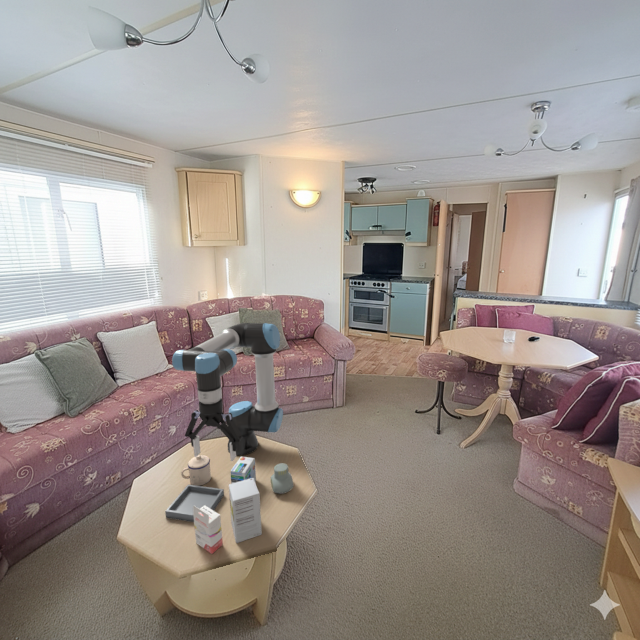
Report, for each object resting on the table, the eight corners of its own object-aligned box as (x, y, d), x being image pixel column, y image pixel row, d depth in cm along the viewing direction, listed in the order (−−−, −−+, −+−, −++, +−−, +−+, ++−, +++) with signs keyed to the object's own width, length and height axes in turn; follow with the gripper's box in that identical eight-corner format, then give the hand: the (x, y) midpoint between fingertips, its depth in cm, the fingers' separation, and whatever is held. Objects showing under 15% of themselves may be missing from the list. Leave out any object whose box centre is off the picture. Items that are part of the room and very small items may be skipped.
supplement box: (231, 524, 125) (227, 483, 121) (256, 516, 128) (253, 476, 125) (235, 544, 116) (232, 501, 113) (262, 535, 120) (260, 492, 116)
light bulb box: (246, 496, 139) (245, 473, 136) (231, 494, 140) (229, 471, 138) (256, 479, 149) (255, 457, 147) (242, 477, 150) (240, 455, 148)
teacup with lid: (210, 470, 155) (208, 447, 153) (212, 483, 147) (210, 458, 145) (181, 478, 150) (179, 454, 148) (182, 491, 142) (180, 466, 140)
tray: (188, 490, 142) (188, 484, 142) (224, 495, 139) (223, 489, 139) (166, 517, 128) (165, 511, 127) (204, 524, 125) (204, 517, 124)
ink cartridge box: (223, 544, 116) (220, 506, 113) (211, 555, 112) (208, 516, 109) (207, 533, 121) (203, 496, 118) (195, 543, 117) (191, 505, 114)
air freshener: (294, 494, 139) (293, 473, 137) (274, 499, 137) (273, 477, 135) (288, 478, 149) (288, 457, 147) (270, 482, 147) (269, 461, 145)
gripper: (170, 401, 113) (176, 459, 117) (240, 407, 108) (244, 467, 112) (183, 392, 120) (189, 446, 124) (249, 397, 115) (253, 454, 119)
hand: (215, 456), depth 118 cm, fingers open, 13 cm apart
